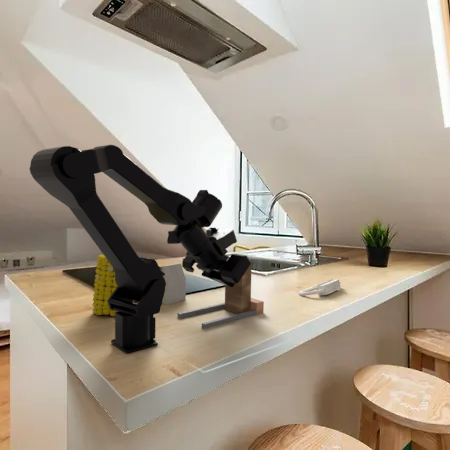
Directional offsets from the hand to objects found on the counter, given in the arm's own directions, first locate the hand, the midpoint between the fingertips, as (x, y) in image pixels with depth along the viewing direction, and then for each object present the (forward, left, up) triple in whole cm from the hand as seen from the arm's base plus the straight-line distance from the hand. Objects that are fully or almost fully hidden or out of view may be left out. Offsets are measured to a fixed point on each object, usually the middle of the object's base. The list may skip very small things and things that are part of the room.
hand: (232, 285), depth 87 cm
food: (-22, +18, -7) cm, 29 cm away
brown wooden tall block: (+2, 0, -7) cm, 7 cm away
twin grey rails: (-4, 0, -7) cm, 8 cm away
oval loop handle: (+37, -1, -7) cm, 38 cm away
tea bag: (-6, +18, -7) cm, 20 cm away
